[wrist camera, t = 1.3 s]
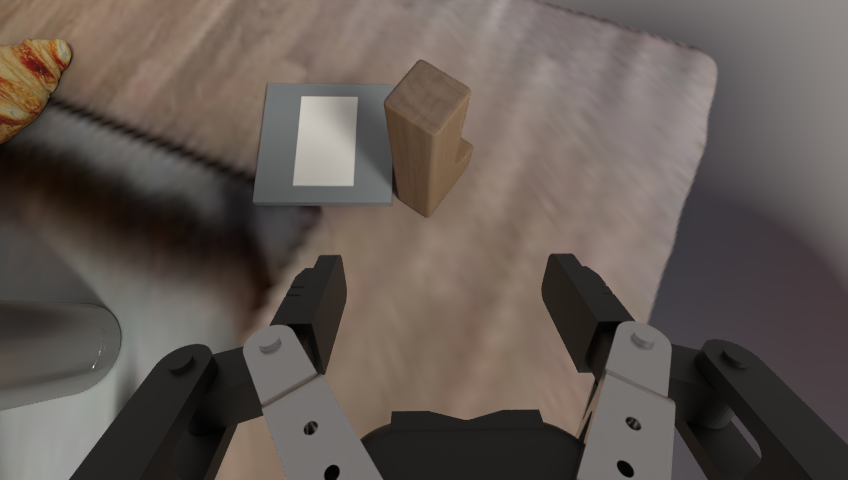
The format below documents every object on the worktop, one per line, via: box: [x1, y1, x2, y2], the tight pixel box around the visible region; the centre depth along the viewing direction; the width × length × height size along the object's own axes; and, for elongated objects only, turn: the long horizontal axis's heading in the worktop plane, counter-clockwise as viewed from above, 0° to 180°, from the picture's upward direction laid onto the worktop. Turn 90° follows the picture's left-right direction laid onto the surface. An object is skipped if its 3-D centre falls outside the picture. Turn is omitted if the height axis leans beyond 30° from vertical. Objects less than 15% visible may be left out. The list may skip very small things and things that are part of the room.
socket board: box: [253, 83, 394, 206], centre depth 39 cm, size 16×16×1 cm
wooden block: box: [384, 60, 474, 218], centre depth 30 cm, size 9×4×18 cm, turn 145°
